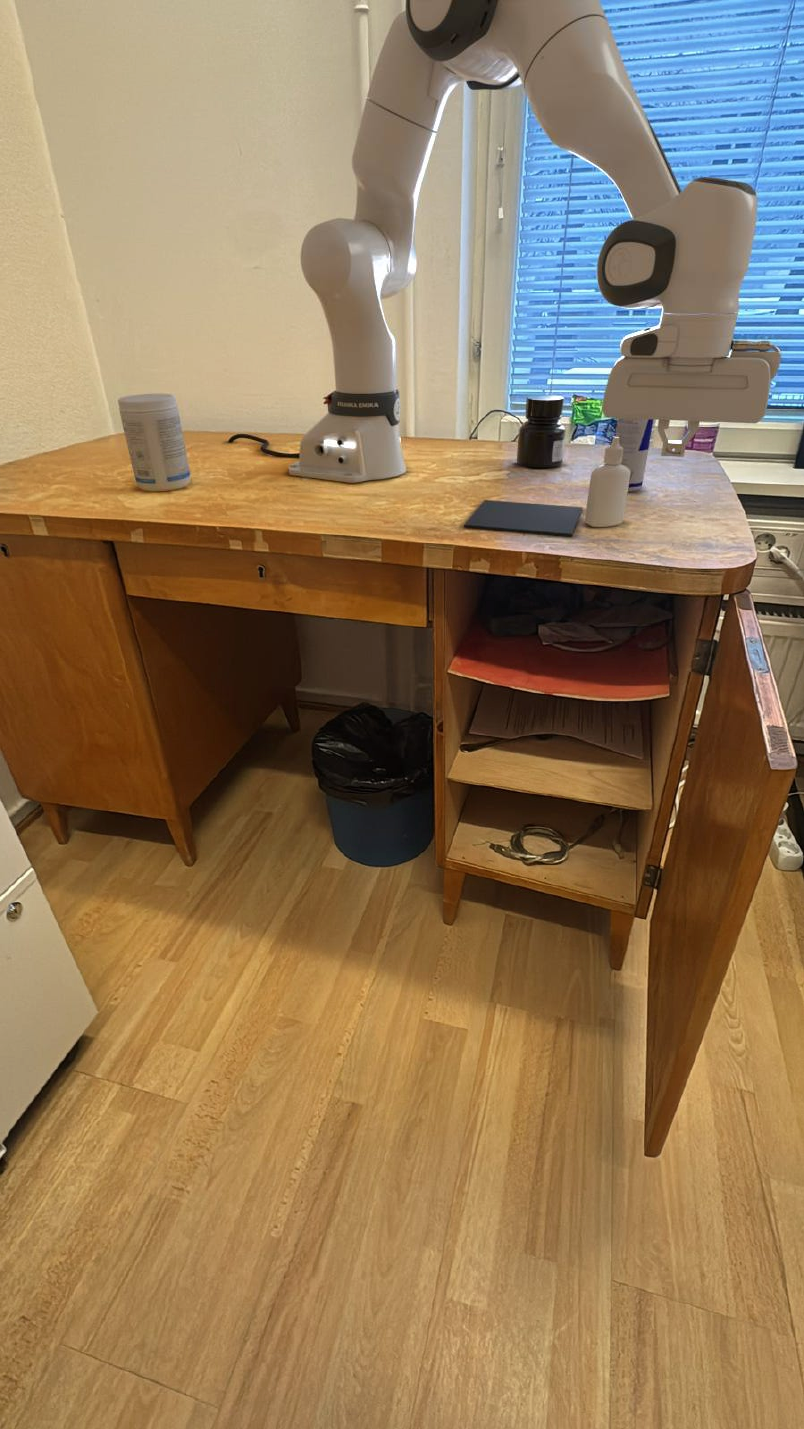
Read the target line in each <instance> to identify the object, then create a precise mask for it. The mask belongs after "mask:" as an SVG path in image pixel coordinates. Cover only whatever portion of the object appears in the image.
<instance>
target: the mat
mask: <svg viewBox="0 0 804 1429" xmlns="http://www.w3.org/2000/svg"><path fill="white" fill-rule="evenodd" d="M582 511H583V507H582V506H570V505H557V504H542V503H529V502H516V501H515V502H514V501H501V500H489V499H484V500H483V502H482V503H480V505H479V506H478V508H477V509H476V510H475V511H474V512H473V514H471V516H470V517H469V518H468V519H467V521H466V522H465V523H464V524H463V528H467V529H479V530H490V531H501V532H502V531H503V532H513V533H514V532H515V533H525V534H537V535H549V536H559V537H561V536H562V537H570V538H571V537H573V535H574V532H575V530H576V527H577V524H578V522H579V519H580V517H581V515H582Z"/></svg>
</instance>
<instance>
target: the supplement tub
mask: <svg viewBox="0 0 804 1429" xmlns="http://www.w3.org/2000/svg"><path fill="white" fill-rule="evenodd" d="M117 403H118V410H119V414H120V419H121V420H120V421H121V425H122V428H123V432H124V436H125V441H126V445H127V446H126V447H127V450H128V454H129V458H130V462H131V463H130V464H131V467H132V471H133V476H134V480H135V484H136V486H137V488H139V489H140V490H142V491H147V492H171V491H174V490H179V489H183V488H185V487H187V486H188V485H189V484H190V483H191V481H192V475H191V470H190V464H189V459H188V455H187V449H186V444H185V438H184V433H183V428H182V421H181V418H180V416H181V415H180V413H179V408H178V404H177V401H176V397H175V395H174V394H171V393H142V394H133V395H126V396H122V397H119V398H118V400H117Z"/></svg>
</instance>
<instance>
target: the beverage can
mask: <svg viewBox="0 0 804 1429" xmlns="http://www.w3.org/2000/svg"><path fill="white" fill-rule="evenodd" d="M653 426H654V420H653V419H628V418H617V423H616V428H615V429H616V430H615V436H614V437H619V445H620V446H621V447H622V448H623V455H622V462H621V463H620V464H621V465H623V466H626V467H627V468H628V469H629V470H630V479H629V486H628V492H627V493H631V492H632V493H633V492H636V491H637V492H638V491H639V490H641V489H642V488H643V482H644V478H645V473H646V472H645V471H646V465H647V462H648V461H647V460H648V454H649V448H650V444H651V436H652V431H653Z"/></svg>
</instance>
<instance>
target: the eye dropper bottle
mask: <svg viewBox="0 0 804 1429" xmlns="http://www.w3.org/2000/svg"><path fill="white" fill-rule="evenodd" d="M622 455H623V448H622V447H621V446H620V445H619V437H615V436H613V437H612V441H611V444H610V445H608V446H606V447H605V450H604V456H603V464H600V465H599V466H597V467H596V468H594V469H593V470H592V472H591V474H590V480H589V486H588V492H587V500H586V508H585V515H584V523H585V524H586V525H587V526H590V527H593V528H609V527H614V526H617V525H620V524H622V523H623V522H624V516H625V510H626V505H627V498H628V493H629V492H628V486H629V479H630V470H629V469H628V468H627V467H626V466H623V465H621V464H620V463H621V462H622Z"/></svg>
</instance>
